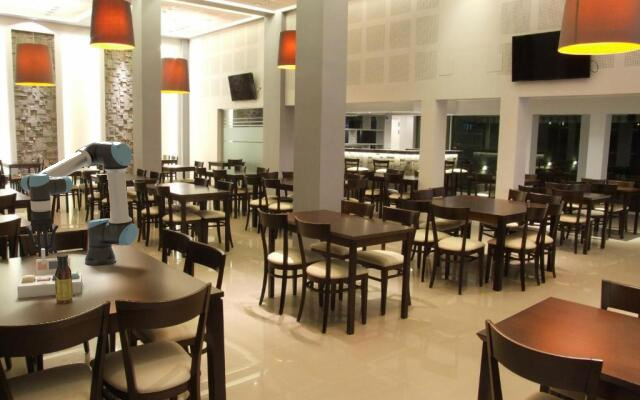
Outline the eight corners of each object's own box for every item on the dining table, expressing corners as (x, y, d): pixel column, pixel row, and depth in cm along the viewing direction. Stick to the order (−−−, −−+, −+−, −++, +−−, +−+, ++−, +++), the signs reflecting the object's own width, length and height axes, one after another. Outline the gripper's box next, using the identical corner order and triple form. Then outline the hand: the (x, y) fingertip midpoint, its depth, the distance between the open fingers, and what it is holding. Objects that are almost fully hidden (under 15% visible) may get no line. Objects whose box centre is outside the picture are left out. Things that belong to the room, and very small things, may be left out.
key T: (34, 283, 228) (34, 274, 227) (33, 286, 224) (33, 276, 224) (24, 284, 226) (23, 274, 226) (22, 287, 223) (22, 277, 222)
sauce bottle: (59, 299, 217) (58, 252, 214) (75, 299, 218) (73, 252, 215) (53, 304, 211) (51, 256, 208) (69, 304, 211) (67, 256, 209)
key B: (49, 285, 230) (49, 276, 230) (49, 288, 227) (48, 278, 226) (39, 286, 229) (38, 277, 228) (38, 289, 225) (37, 279, 224)
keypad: (82, 282, 241) (81, 272, 240) (81, 292, 226) (80, 281, 226) (22, 287, 232) (22, 276, 231) (17, 298, 217) (17, 286, 216)
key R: (78, 280, 235) (78, 271, 234) (78, 282, 231) (78, 273, 230) (68, 281, 233) (68, 271, 233) (67, 283, 229) (67, 274, 229)
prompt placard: (70, 280, 244) (70, 257, 243) (70, 281, 243) (69, 258, 242) (36, 283, 238) (36, 259, 237) (36, 283, 238) (35, 260, 236)
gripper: (58, 208, 229) (61, 260, 233) (24, 209, 224) (28, 262, 228) (57, 210, 223) (60, 264, 226) (22, 212, 217) (25, 267, 221)
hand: (44, 263), depth 227 cm, fingers closed
